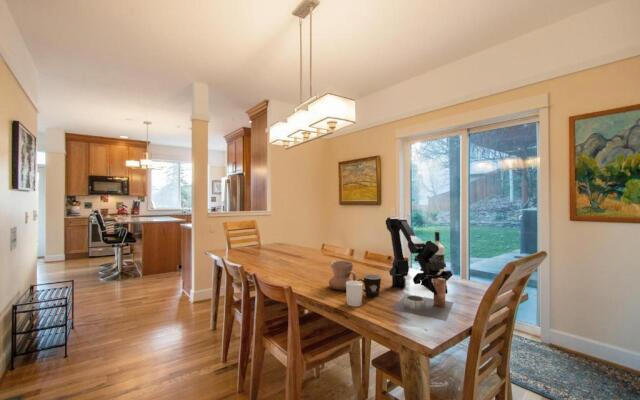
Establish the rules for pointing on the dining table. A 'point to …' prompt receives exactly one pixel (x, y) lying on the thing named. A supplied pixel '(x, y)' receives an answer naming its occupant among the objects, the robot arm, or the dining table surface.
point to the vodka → (440, 254)
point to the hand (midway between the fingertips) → (441, 293)
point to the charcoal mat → (427, 309)
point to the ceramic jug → (341, 274)
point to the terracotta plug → (439, 292)
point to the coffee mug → (371, 285)
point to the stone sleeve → (415, 303)
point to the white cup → (354, 293)
